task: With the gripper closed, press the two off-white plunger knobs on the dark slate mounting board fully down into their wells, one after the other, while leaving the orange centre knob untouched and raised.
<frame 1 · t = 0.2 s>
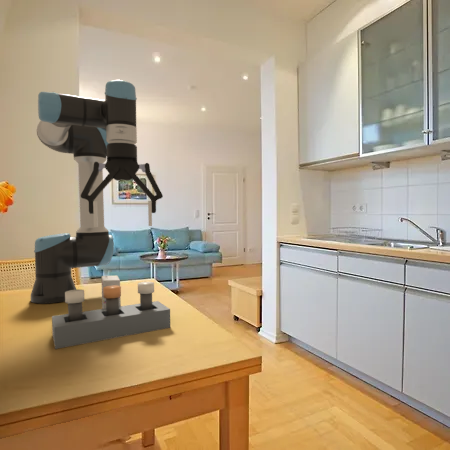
hand: (123, 226, 91), 28 cm above the table, fingers open, 13 cm apart
knob middle: (112, 301, 91), point 8 cm above the table, slide at 4.0 cm
ink box: (111, 317, 104), on the table
knob 1: (75, 306, 86), point 8 cm above the table, slide at 4.0 cm
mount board: (113, 331, 91), on the table
knob 2: (146, 296, 95), point 8 cm above the table, slide at 4.0 cm
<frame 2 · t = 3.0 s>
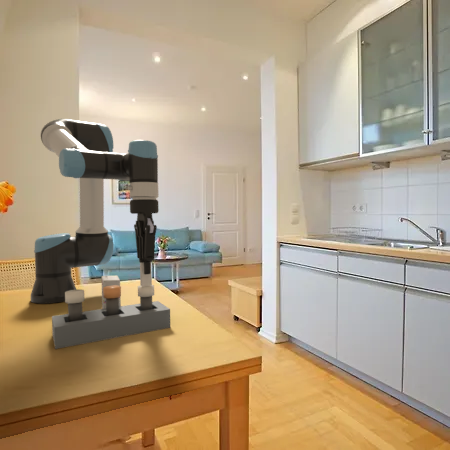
hand: (146, 285, 95), 11 cm above the table, fingers closed
knob 2: (146, 299, 95), point 7 cm above the table, slide at 3.2 cm, touching gripper
everything else where it was.
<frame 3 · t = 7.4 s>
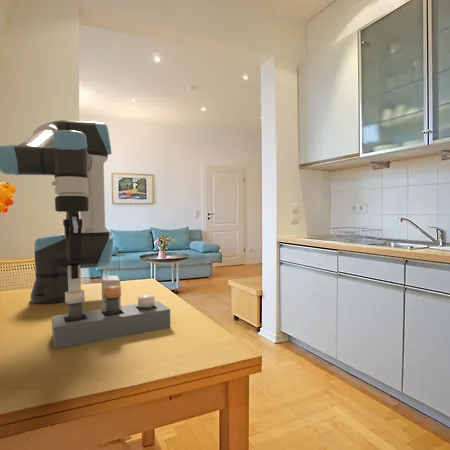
hand: (74, 290, 86), 12 cm above the table, fingers closed
knob 1: (75, 306, 86), point 8 cm above the table, slide at 3.9 cm, touching gripper
knob 2: (146, 309, 95), point 4 cm above the table, slide at 0.3 cm
everything else where it was.
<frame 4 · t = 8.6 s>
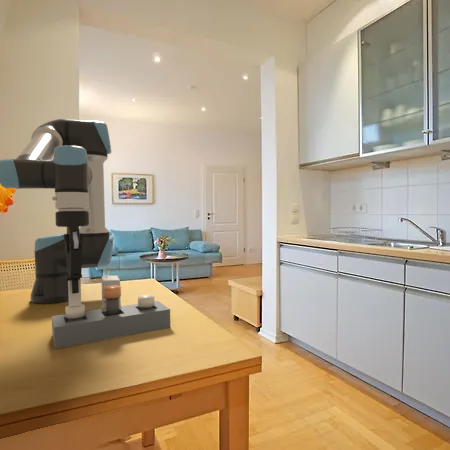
hand: (75, 305, 86), 8 cm above the table, fingers closed
knob 1: (75, 320, 87), point 4 cm above the table, slide at 0.3 cm, touching gripper
everything else where it was.
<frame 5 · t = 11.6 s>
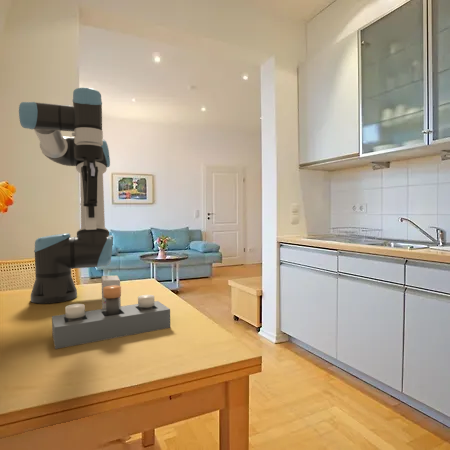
hand: (91, 229, 99), 26 cm above the table, fingers closed
knob 1: (75, 320, 87), point 4 cm above the table, slide at 0.3 cm
everything else where it was.
at the end: knob 2 slide at 0.3 cm; knob 1 slide at 0.3 cm; knob middle slide at 4.0 cm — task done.
